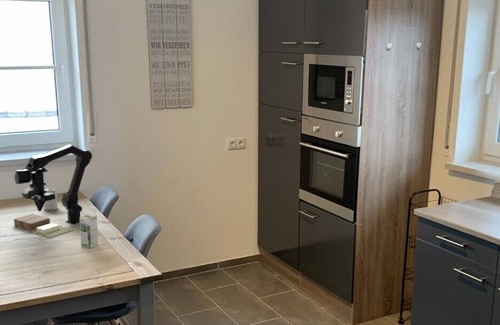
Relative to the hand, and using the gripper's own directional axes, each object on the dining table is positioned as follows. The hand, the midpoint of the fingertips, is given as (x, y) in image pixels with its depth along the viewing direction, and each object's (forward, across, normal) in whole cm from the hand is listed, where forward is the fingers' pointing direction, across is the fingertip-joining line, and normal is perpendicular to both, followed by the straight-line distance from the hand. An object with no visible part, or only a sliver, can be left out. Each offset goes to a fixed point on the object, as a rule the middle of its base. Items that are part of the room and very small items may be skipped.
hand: (39, 211), depth 272 cm
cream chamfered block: (+7, +6, 0) cm, 9 cm away
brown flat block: (+9, -7, 0) cm, 12 cm away
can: (+10, -25, +25) cm, 37 cm away
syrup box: (+10, +40, -3) cm, 41 cm away
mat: (+9, +8, 0) cm, 12 cm away
